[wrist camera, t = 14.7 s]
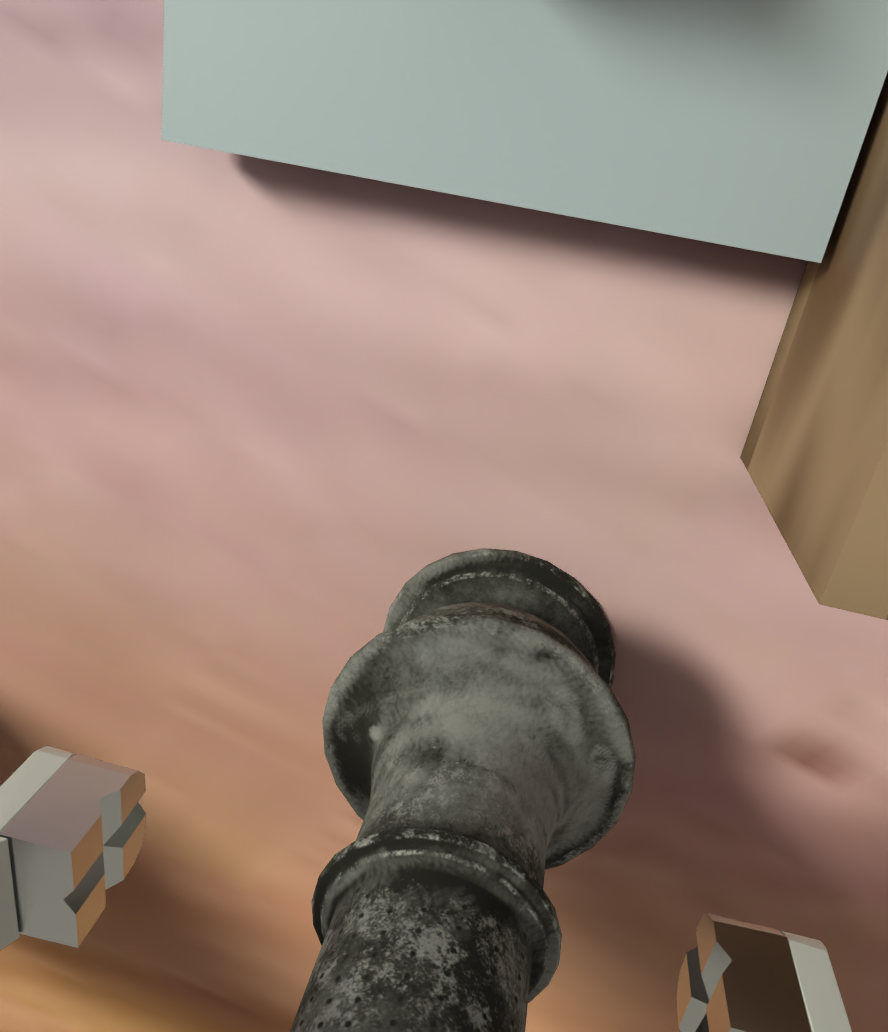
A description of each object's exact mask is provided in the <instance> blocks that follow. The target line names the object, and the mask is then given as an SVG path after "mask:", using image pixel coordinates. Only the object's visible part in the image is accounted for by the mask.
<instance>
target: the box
mask: <svg viewBox="0 0 888 1032" xmlns="http://www.w3.org/2000/svg"><path fill="white" fill-rule="evenodd" d="M740 458H741V459H742V461H743V463H744V465H745V467H746V469H747V471H748V472H749V474H750V476H751V478H752V480H753V482H754V484H755V485H756V487H757V489H758V491H759V493H760V495H761V497H762V499H763V500H764V502H765V504H766V506H767V508H768V510H769V512H770V513H771V515H772V517H773V519H774V521H775V523H776V525H777V526H778V528H779V530H780V532H781V534H782V536H783V538H784V540H785V541H786V543H787V545H788V547H789V549H790V551H791V553H792V554H793V556H794V558H795V560H796V562H797V564H798V566H799V567H800V569H801V571H802V573H803V575H804V577H805V579H806V581H807V582H808V584H809V586H810V588H811V590H812V592H813V594H814V595H815V597H816V599H817V601H818V603H819V604H821V605H825V606H830V607H834V608H838V609H843V610H847V611H851V612H855V613H860V614H864V615H868V616H873V617H877V618H881V619H885V620H888V72H887V75H886V77H885V80H884V83H883V86H882V89H881V92H880V95H879V98H878V100H877V103H876V106H875V109H874V112H873V115H872V118H871V121H870V123H869V126H868V129H867V132H866V135H865V138H864V141H863V144H862V146H861V149H860V152H859V155H858V158H857V161H856V164H855V167H854V169H853V172H852V175H851V178H850V181H849V184H848V187H847V190H846V192H845V195H844V198H843V201H842V204H841V207H840V210H839V213H838V215H837V218H836V221H835V224H834V227H833V230H832V233H831V236H830V239H829V241H828V244H827V247H826V250H825V253H824V256H823V259H822V262H821V263H818V262H812V261H808V262H807V265H806V268H805V271H804V274H803V276H802V279H801V282H800V285H799V288H798V291H797V294H796V297H795V300H794V303H793V306H792V309H791V311H790V314H789V317H788V320H787V323H786V326H785V329H784V332H783V335H782V338H781V341H780V343H779V346H778V349H777V352H776V355H775V358H774V361H773V364H772V367H771V370H770V373H769V376H768V378H767V381H766V384H765V387H764V390H763V393H762V396H761V399H760V402H759V405H758V408H757V410H756V413H755V416H754V419H753V422H752V425H751V428H750V431H749V434H748V437H747V440H746V443H745V445H744V448H743V451H742V454H741V457H740Z"/></svg>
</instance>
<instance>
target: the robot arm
mask: <svg viewBox="0 0 888 1032" xmlns="http://www.w3.org/2000/svg"><path fill="white" fill-rule="evenodd" d="M145 791H146V788H145V774H144V773H142V772H140V771H137V770H134V769H130V768H127V767H123V766H120V765H116V764H113V763H109V762H105V761H102V760H98V759H95V758H91V757H88V756H84V755H81V754H75V753H72V752H68V751H64V750H61V749H57V748H53V747H50V746H45V747H42V748H40V749H38V750H36V751H35V752H33V754H32V755H31V756H30V757H29V758H28V759H27V760H26V761H25V762H24V763H23V764H22V765H21V766H20V767H19V768H18V769H17V770H16V771H15V772H14V773H13V774H12V775H11V776H10V777H9V778H8V779H7V780H6V781H5V782H4V783H3V784H2V785H1V786H0V950H1V949H3V948H4V947H6V946H7V945H9V944H10V943H12V942H13V941H15V940H17V939H18V938H19V934H23V935H27V936H31V937H35V938H39V939H43V940H47V941H51V942H56V943H60V944H64V945H68V946H72V947H76V948H78V947H79V946H80V944H81V943H82V941H83V940H84V938H85V937H86V935H87V934H88V933H89V931H90V930H91V928H92V927H93V925H94V924H95V922H96V921H97V919H98V918H99V916H100V915H101V913H102V912H103V910H104V909H105V907H106V895H105V890H106V889H108V888H110V887H112V886H113V885H115V884H117V883H119V882H121V881H123V880H124V879H125V877H126V875H127V874H128V872H129V871H130V869H131V868H132V866H133V864H134V863H135V861H136V858H137V856H138V853H139V851H140V848H141V846H142V844H143V840H144V835H145V830H146V813H145V812H144V810H143V809H142V807H141V806H140V805H139V803H138V801H139V800H140V798H141V797H142V796H143V794H144V793H145ZM696 937H697V945H698V947H696V948H694V949H693V950H691V951H689V952H687V953H686V955H685V958H684V961H683V963H682V966H681V969H680V974H679V980H678V986H677V1018H678V1028H679V1029H680V1031H681V1032H852V1029H851V1026H850V1023H849V1019H848V1016H847V1013H846V1010H845V1006H844V1003H843V1000H842V997H841V994H840V990H839V987H838V984H837V981H836V977H835V974H834V971H833V968H832V965H831V961H830V958H829V955H828V952H827V949H826V947H825V946H824V945H823V943H822V942H821V941H820V940H817V939H812V938H808V937H804V936H800V935H796V934H792V933H788V932H784V931H779V930H777V929H773V928H769V927H765V926H761V925H756V924H752V923H748V922H744V921H740V920H735V919H731V918H727V917H723V916H719V915H715V914H710V913H706V914H705V915H704V916H703V917H702V918H701V920H700V922H699V924H698V926H697V929H696Z"/></svg>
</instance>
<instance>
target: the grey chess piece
mask: <svg viewBox="0 0 888 1032" xmlns="http://www.w3.org/2000/svg"><path fill="white" fill-rule="evenodd" d="M614 664H615V650H614V645H613V641H612V636H611V631H610V626H609V624H608V622H607V621H606V619H605V617H604V615H603V613H602V611H601V610H600V608H599V606H598V604H597V602H596V600H595V599H594V598H593V597H592V596H591V595H590V594H589V593H588V592H587V591H586V590H585V589H584V588H583V587H582V586H581V585H580V584H579V583H578V582H577V581H576V580H575V578H573V577H572V576H570V575H568V574H567V573H565V572H564V571H562V570H560V569H559V568H557V567H556V566H554V565H552V564H551V563H549V562H547V561H545V560H542V559H539V558H536V557H533V556H530V555H527V554H524V553H521V552H517V551H510V550H497V549H485V548H484V549H478V550H472V551H466V552H460V553H454V554H451V555H449V556H447V557H445V558H442V559H440V560H438V561H436V562H433V563H431V564H429V565H427V566H426V567H424V568H423V569H422V570H421V571H420V572H418V573H417V574H416V575H415V576H414V577H413V578H411V579H410V580H409V581H408V582H407V583H405V585H404V587H403V588H402V590H401V591H400V593H399V594H398V596H397V597H396V599H395V600H394V602H393V603H392V605H391V607H390V609H389V613H388V617H387V620H386V624H385V627H384V631H383V633H381V634H378V635H377V636H376V637H375V638H373V639H372V640H371V641H370V642H369V643H367V644H366V645H365V646H364V647H362V648H361V649H360V650H359V651H358V652H356V653H355V654H354V655H353V656H351V657H350V659H349V660H348V662H347V663H346V665H345V666H344V668H343V670H342V671H341V673H340V674H339V676H338V677H337V679H336V680H335V682H334V684H333V685H332V687H331V689H330V693H329V697H328V701H327V705H326V708H325V712H324V716H323V735H324V750H325V755H326V758H327V761H328V763H329V766H330V769H331V771H332V774H333V777H334V780H335V782H336V785H337V786H338V788H339V789H340V791H341V792H342V794H343V795H344V796H345V798H346V799H347V801H348V802H349V804H350V805H351V807H352V808H353V809H354V811H355V812H356V814H357V815H358V816H359V817H360V818H361V819H362V820H363V823H362V826H361V829H360V831H359V834H358V836H357V839H356V841H354V842H353V843H351V844H350V845H349V846H347V847H346V848H344V849H343V850H341V851H340V852H338V853H337V854H335V855H334V857H333V858H332V859H331V861H330V862H329V863H328V864H327V866H326V867H325V868H324V870H323V871H322V872H321V874H320V876H319V878H318V882H317V885H316V888H315V892H314V895H313V898H312V913H313V925H314V928H315V930H316V933H317V935H318V938H319V940H320V943H321V945H322V947H321V950H320V953H319V955H318V958H317V961H316V963H315V966H314V969H313V971H312V974H311V977H310V979H309V982H308V985H307V987H306V990H305V993H304V995H303V998H302V1001H301V1003H300V1006H299V1009H298V1012H297V1014H296V1017H295V1020H294V1022H293V1025H292V1028H291V1030H290V1032H525V1026H526V1015H527V1004H528V1003H529V1002H530V1001H531V1000H533V999H534V998H535V997H536V996H537V995H538V994H539V993H540V992H541V991H542V990H543V989H544V988H546V987H547V986H548V984H549V982H550V980H551V978H552V977H553V975H554V973H555V971H556V969H557V967H558V965H559V959H560V949H561V938H562V933H561V929H560V926H559V922H558V918H557V914H556V910H555V908H554V906H553V905H552V903H551V901H550V900H549V898H548V897H547V895H546V893H545V892H544V890H543V883H544V871H545V869H549V868H552V867H556V866H560V865H562V864H564V863H566V862H568V861H569V860H571V859H573V858H575V857H576V856H578V855H580V854H582V853H583V852H585V851H587V850H589V849H590V848H592V847H594V846H595V845H596V843H597V842H598V841H599V840H600V839H601V838H602V837H603V836H604V835H605V834H606V833H607V832H608V831H609V830H610V829H611V828H612V827H613V826H614V825H615V824H616V823H617V821H618V819H619V817H620V815H621V813H622V811H623V809H624V807H625V805H626V802H627V800H628V798H629V796H630V794H631V792H632V783H633V775H634V766H635V751H634V746H633V742H632V737H631V732H630V727H629V723H628V719H627V717H626V715H625V713H624V711H623V710H622V708H621V706H620V704H619V703H618V701H617V699H616V697H615V695H614V694H613V692H612V690H611V685H612V683H613V674H614Z"/></svg>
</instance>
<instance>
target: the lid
mask: <svg viewBox="0 0 888 1032" xmlns="http://www.w3.org/2000/svg"><path fill="white" fill-rule="evenodd" d="M887 72H888V0H164V42H163V95H162V140H164V141H170V142H175V143H180V144H186V145H191V146H196V147H202V148H207V149H212V150H218V151H223V152H229V153H234V154H239V155H245V156H250V157H255V158H261V159H266V160H271V161H277V162H282V163H287V164H293V165H298V166H303V167H309V168H314V169H320V170H325V171H330V172H336V173H341V174H346V175H352V176H357V177H362V178H368V179H373V180H378V181H384V182H389V183H395V184H400V185H405V186H411V187H416V188H421V189H427V190H432V191H437V192H443V193H448V194H453V195H459V196H464V197H470V198H475V199H480V200H486V201H491V202H496V203H502V204H507V205H512V206H518V207H523V208H528V209H534V210H539V211H545V212H550V213H555V214H561V215H566V216H571V217H577V218H582V219H587V220H593V221H598V222H603V223H609V224H614V225H620V226H625V227H630V228H636V229H641V230H646V231H652V232H657V233H662V234H668V235H673V236H678V237H684V238H689V239H695V240H700V241H705V242H711V243H716V244H721V245H727V246H732V247H737V248H743V249H748V250H753V251H759V252H764V253H769V254H775V255H780V256H786V257H791V258H796V259H802V260H807V261H812V262H818V263H821V262H822V259H823V256H824V253H825V250H826V247H827V244H828V241H829V239H830V236H831V233H832V230H833V227H834V224H835V221H836V218H837V215H838V213H839V210H840V207H841V204H842V201H843V198H844V195H845V192H846V190H847V187H848V184H849V181H850V178H851V175H852V172H853V169H854V167H855V164H856V161H857V158H858V155H859V152H860V149H861V146H862V144H863V141H864V138H865V135H866V132H867V129H868V126H869V123H870V121H871V118H872V115H873V112H874V109H875V106H876V103H877V100H878V98H879V95H880V92H881V89H882V86H883V83H884V80H885V77H886V75H887Z"/></svg>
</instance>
